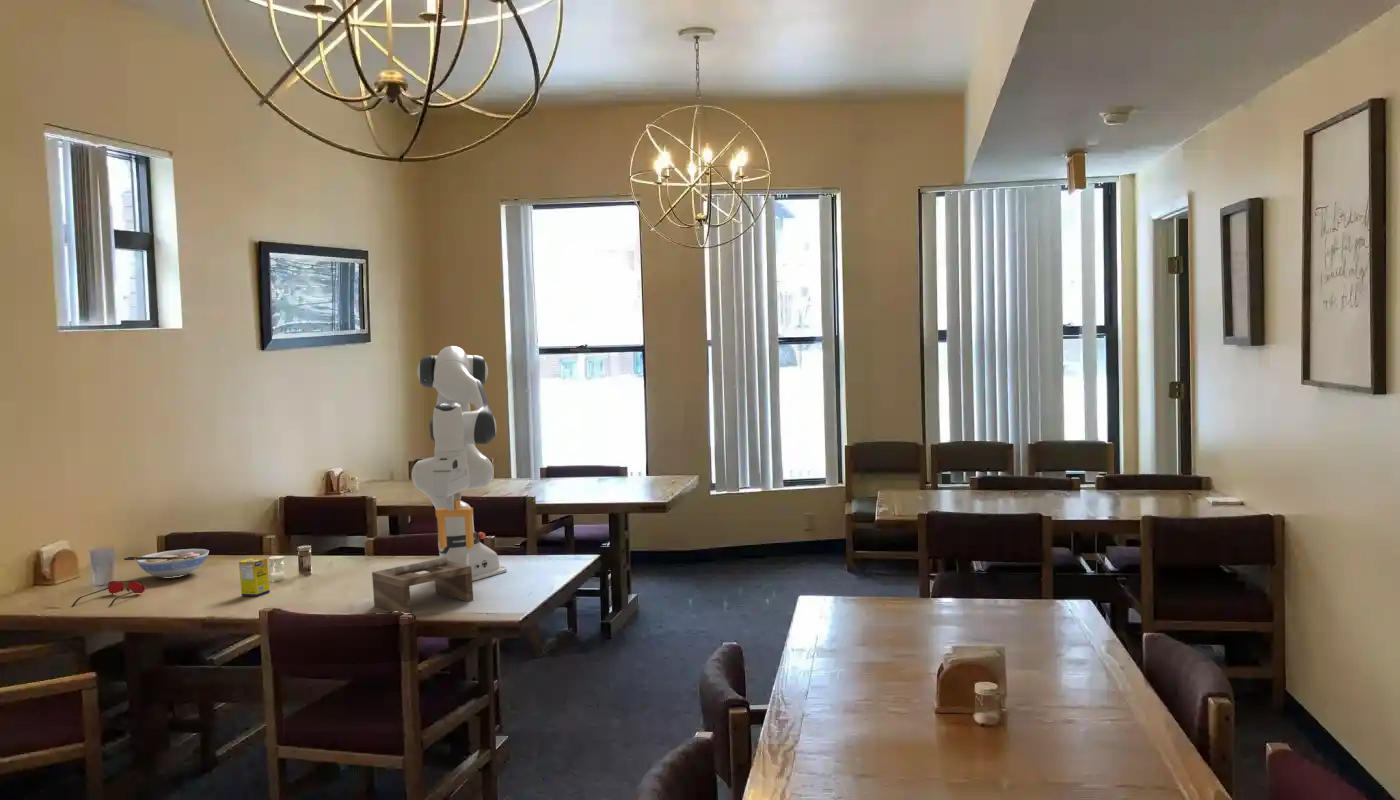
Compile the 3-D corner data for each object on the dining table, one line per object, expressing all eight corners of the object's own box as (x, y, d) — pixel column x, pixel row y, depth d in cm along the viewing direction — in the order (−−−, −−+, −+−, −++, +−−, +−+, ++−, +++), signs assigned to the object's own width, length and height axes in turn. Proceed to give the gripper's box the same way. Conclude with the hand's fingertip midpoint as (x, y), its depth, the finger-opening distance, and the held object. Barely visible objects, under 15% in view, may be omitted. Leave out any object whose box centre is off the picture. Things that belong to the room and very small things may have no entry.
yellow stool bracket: (441, 546, 315) (438, 500, 314) (475, 545, 314) (472, 499, 313) (437, 548, 312) (434, 501, 311) (471, 548, 311) (468, 501, 310)
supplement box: (270, 592, 345) (267, 557, 344) (256, 597, 339) (254, 562, 338) (254, 591, 347) (252, 557, 346) (241, 596, 341) (238, 561, 340)
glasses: (147, 595, 351) (146, 579, 350) (109, 608, 335) (108, 592, 334) (110, 595, 354) (108, 579, 354) (70, 608, 338) (69, 592, 337)
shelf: (441, 591, 334) (439, 552, 334) (473, 599, 321) (470, 559, 321) (374, 606, 319) (371, 565, 319) (404, 615, 306) (401, 573, 306)
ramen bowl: (227, 568, 386) (226, 545, 385) (186, 584, 363) (184, 559, 363) (163, 569, 390) (161, 546, 390) (119, 584, 368) (117, 560, 367)
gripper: (453, 455, 322) (456, 502, 323) (427, 465, 301) (430, 515, 303) (473, 454, 321) (476, 501, 322) (449, 465, 301) (452, 515, 302)
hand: (454, 508), depth 312 cm, fingers closed on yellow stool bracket, 3 cm apart
